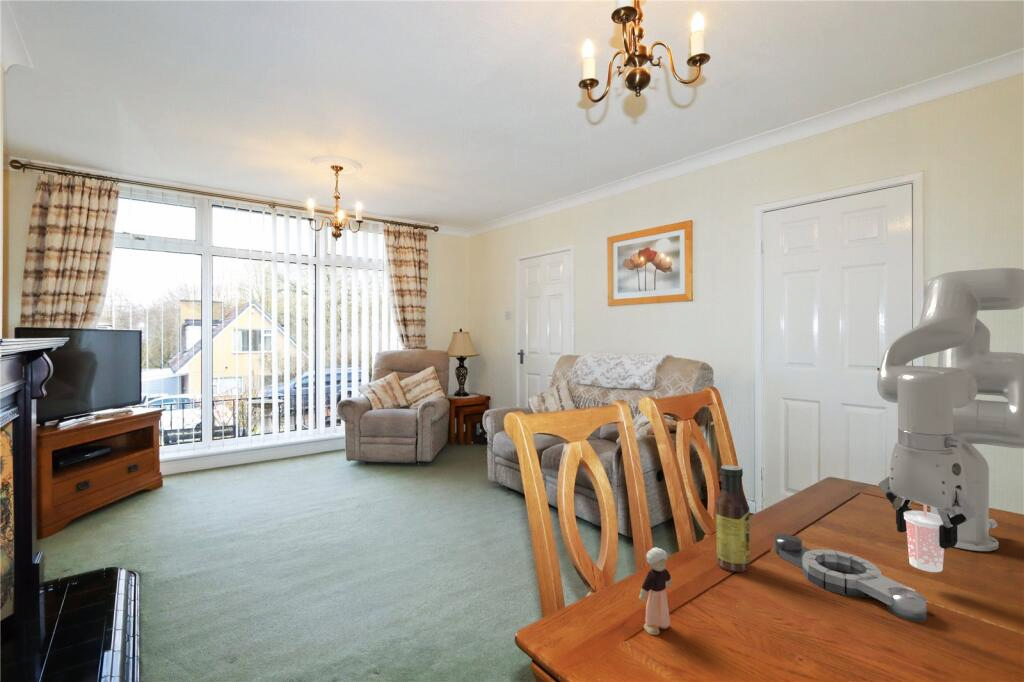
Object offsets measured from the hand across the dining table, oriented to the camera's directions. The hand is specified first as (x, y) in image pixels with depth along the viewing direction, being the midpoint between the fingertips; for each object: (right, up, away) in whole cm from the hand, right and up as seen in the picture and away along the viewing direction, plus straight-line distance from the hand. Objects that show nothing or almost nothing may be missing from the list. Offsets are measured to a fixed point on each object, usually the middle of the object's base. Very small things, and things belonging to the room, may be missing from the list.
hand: (925, 537), depth 87 cm
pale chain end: (-11, -10, 0) cm, 15 cm away
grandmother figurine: (-51, -10, -10) cm, 53 cm away
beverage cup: (0, -5, 0) cm, 5 cm away
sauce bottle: (-30, -10, +10) cm, 33 cm away
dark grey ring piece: (-14, -10, +8) cm, 19 cm away
